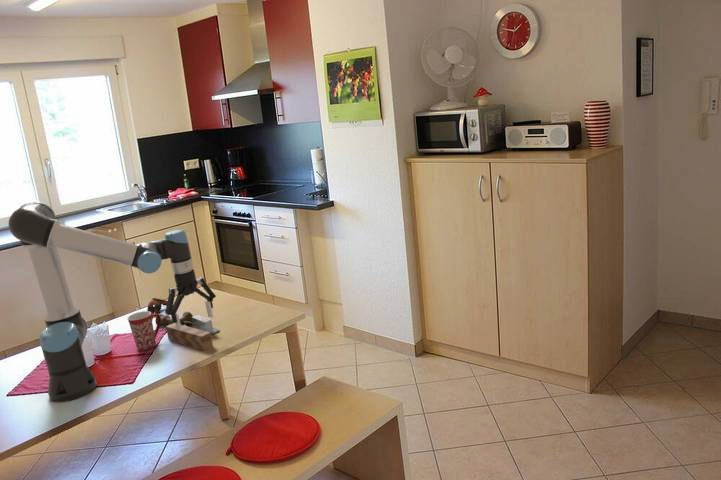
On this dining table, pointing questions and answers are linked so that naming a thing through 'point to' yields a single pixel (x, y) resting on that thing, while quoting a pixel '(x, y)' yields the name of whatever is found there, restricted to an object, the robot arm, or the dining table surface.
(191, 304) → the dining table surface
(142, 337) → the mug
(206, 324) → the fulcrum
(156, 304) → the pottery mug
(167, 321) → the kendama
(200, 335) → the walnut bar
